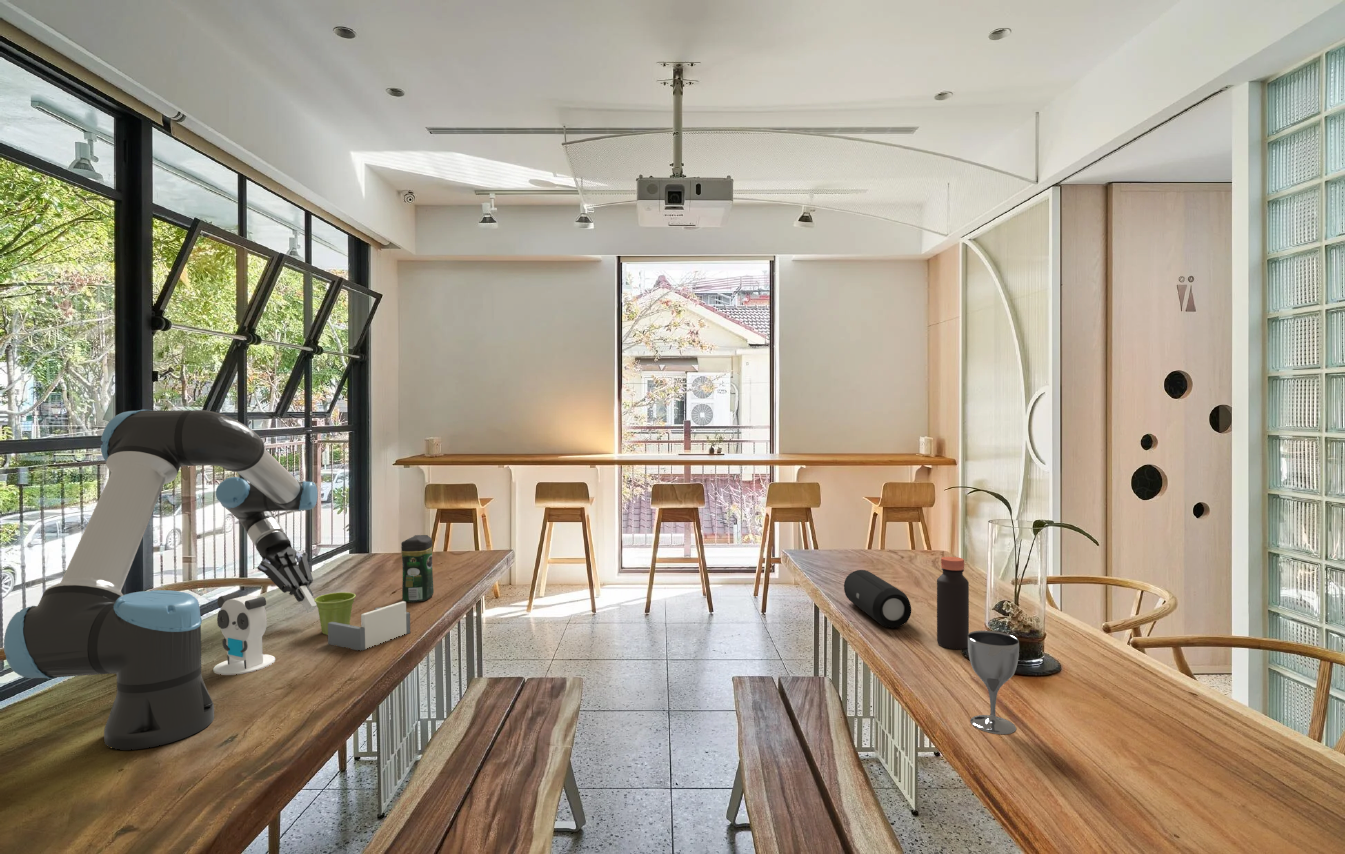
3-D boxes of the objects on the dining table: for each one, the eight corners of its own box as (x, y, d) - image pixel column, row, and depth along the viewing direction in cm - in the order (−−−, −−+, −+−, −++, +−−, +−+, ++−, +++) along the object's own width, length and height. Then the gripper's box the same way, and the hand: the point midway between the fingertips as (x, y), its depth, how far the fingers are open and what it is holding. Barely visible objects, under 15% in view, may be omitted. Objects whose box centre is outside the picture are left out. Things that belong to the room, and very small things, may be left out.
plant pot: (363, 625, 174) (363, 592, 173) (342, 638, 164) (341, 602, 164) (329, 625, 174) (329, 591, 174) (306, 637, 165) (305, 601, 165)
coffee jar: (410, 594, 204) (409, 533, 204) (436, 594, 204) (435, 533, 204) (398, 603, 194) (397, 539, 194) (425, 602, 195) (424, 538, 194)
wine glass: (975, 710, 121) (975, 627, 121) (1023, 722, 116) (1023, 636, 116) (961, 726, 115) (961, 639, 115) (1012, 740, 110) (1012, 649, 110)
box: (360, 650, 155) (360, 616, 155) (328, 644, 160) (327, 610, 160) (410, 632, 168) (409, 600, 168) (378, 626, 173) (378, 595, 173)
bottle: (969, 642, 157) (968, 557, 157) (968, 651, 151) (968, 563, 151) (937, 638, 160) (937, 554, 160) (936, 647, 154) (935, 560, 154)
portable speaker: (841, 603, 191) (841, 568, 191) (874, 602, 192) (874, 567, 192) (876, 631, 166) (876, 591, 166) (915, 630, 167) (915, 590, 167)
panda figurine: (200, 669, 144) (198, 599, 144) (252, 652, 155) (251, 587, 154) (234, 678, 139) (232, 606, 139) (286, 660, 149) (285, 593, 149)
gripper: (287, 544, 187) (328, 611, 180) (239, 553, 176) (281, 624, 169) (299, 526, 185) (341, 593, 178) (251, 534, 173) (295, 606, 166)
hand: (312, 608), depth 173 cm, fingers closed
